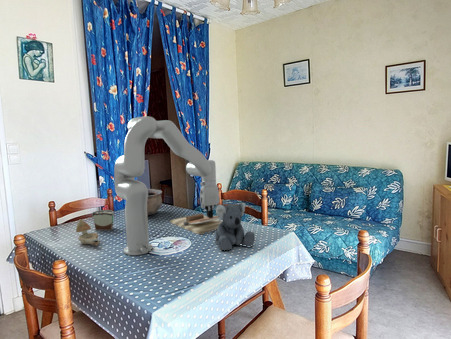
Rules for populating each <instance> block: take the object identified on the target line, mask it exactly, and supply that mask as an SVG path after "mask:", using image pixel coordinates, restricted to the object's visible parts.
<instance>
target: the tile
mask: <svg viewBox="0 0 451 339" xmlns="http://www.w3.org/2000/svg"><path fill="white" fill-rule="evenodd" d="M215 219H216V220H220V219H219V217H218V216H217V215H213V218H209V217H207V218H202V219H198V220H194V221H189V222H188V224H197V223H203V222H207V221H211V220H215Z"/></svg>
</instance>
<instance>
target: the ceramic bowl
mask: <svg viewBox="0 0 451 339" xmlns="http://www.w3.org/2000/svg"><path fill="white" fill-rule="evenodd" d="M147 189H148V199H147V216H150V215H153V214H156V213H157V212H158V211H159V210H160V208H161V207H162V204H163V199H162V193H163V191H162V190H161V189H154V188H147Z"/></svg>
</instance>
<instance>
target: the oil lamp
mask: <svg viewBox="0 0 451 339" xmlns="http://www.w3.org/2000/svg"><path fill="white" fill-rule="evenodd" d="M76 224H77V225H76V231H75V232H76V233H82V234H80V235H79V236H78V241H79V242H80V243H81V244H82V245H92V246H98V245H99V243H100V242H101V241H100V239H98V238H99V235H98V232H89V233H88V231H89V230H92V227H91V226H90V224H88V223H87V222H86V221H84V220H83V219H81V218H80V219H79V220H78V222H77V223H76Z"/></svg>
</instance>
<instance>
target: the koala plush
mask: <svg viewBox="0 0 451 339" xmlns="http://www.w3.org/2000/svg"><path fill="white" fill-rule="evenodd" d="M246 206H247V205H246V202H240V203H239V204H227V205H225V204H220V203H218V205H217V206H215V208H214V210H215V216H218V217H219V219H218V220H220V221H221V220H222V222H221V223H220V224H219V226H218V229H217V230H215V234H214V235H215V241H214V242H215V245H217V246H218V249H219V250H220V249H221V250H220V251H222V250H224V251H223V252H226V251H225V250H229V251H231V250H232V249H231V248H233V246H234V245H236V246H239V245H240V244H242V245H246V246H251V245H253V246H254V244H255V241H256V240H255V238H256V237H255V236H256V235H255V232H254V231H251V230H250V231H247V232H246V233H245V231H244V228H243V225H242V224H241V223H242V217H243V216H244V213H245V211H246V209H245V208H246ZM230 249H231V250H230Z"/></svg>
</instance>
